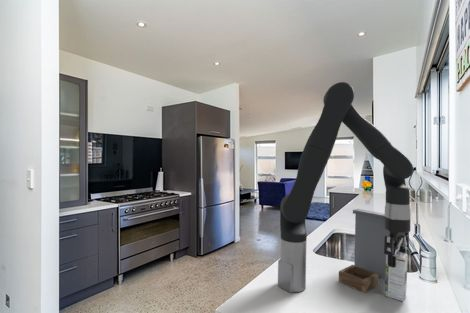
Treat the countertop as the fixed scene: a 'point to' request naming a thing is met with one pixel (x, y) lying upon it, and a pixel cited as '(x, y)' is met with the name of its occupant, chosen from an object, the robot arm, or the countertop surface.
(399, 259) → the syrup box
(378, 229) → the upright grey panel
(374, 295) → the countertop surface
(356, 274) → the socket
